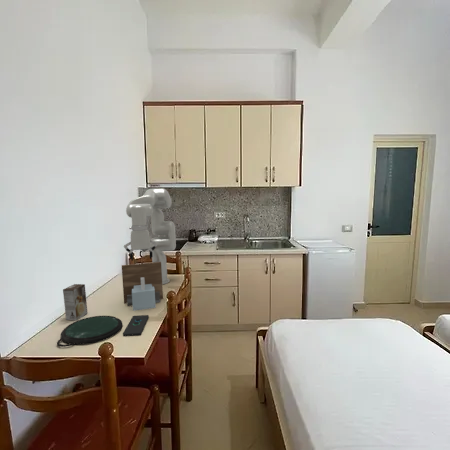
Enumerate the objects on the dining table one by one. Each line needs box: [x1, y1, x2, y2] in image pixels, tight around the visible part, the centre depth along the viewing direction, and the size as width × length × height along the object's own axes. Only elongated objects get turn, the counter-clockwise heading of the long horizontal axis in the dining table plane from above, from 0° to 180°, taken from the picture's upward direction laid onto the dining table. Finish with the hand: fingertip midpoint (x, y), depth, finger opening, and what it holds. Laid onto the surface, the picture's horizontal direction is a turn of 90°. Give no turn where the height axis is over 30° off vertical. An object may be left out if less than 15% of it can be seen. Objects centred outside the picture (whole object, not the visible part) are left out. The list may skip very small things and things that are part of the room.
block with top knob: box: [132, 277, 157, 311], centre depth 174 cm, size 12×12×16 cm
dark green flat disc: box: [56, 315, 123, 348], centre depth 143 cm, size 26×3×30 cm
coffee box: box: [62, 283, 88, 321], centre depth 161 cm, size 9×6×16 cm
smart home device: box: [122, 314, 150, 337], centre depth 148 cm, size 8×2×20 cm
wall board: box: [121, 262, 164, 307], centre depth 178 cm, size 7×22×22 cm, turn 106°
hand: (141, 259), depth 169 cm, fingers open, 9 cm apart
